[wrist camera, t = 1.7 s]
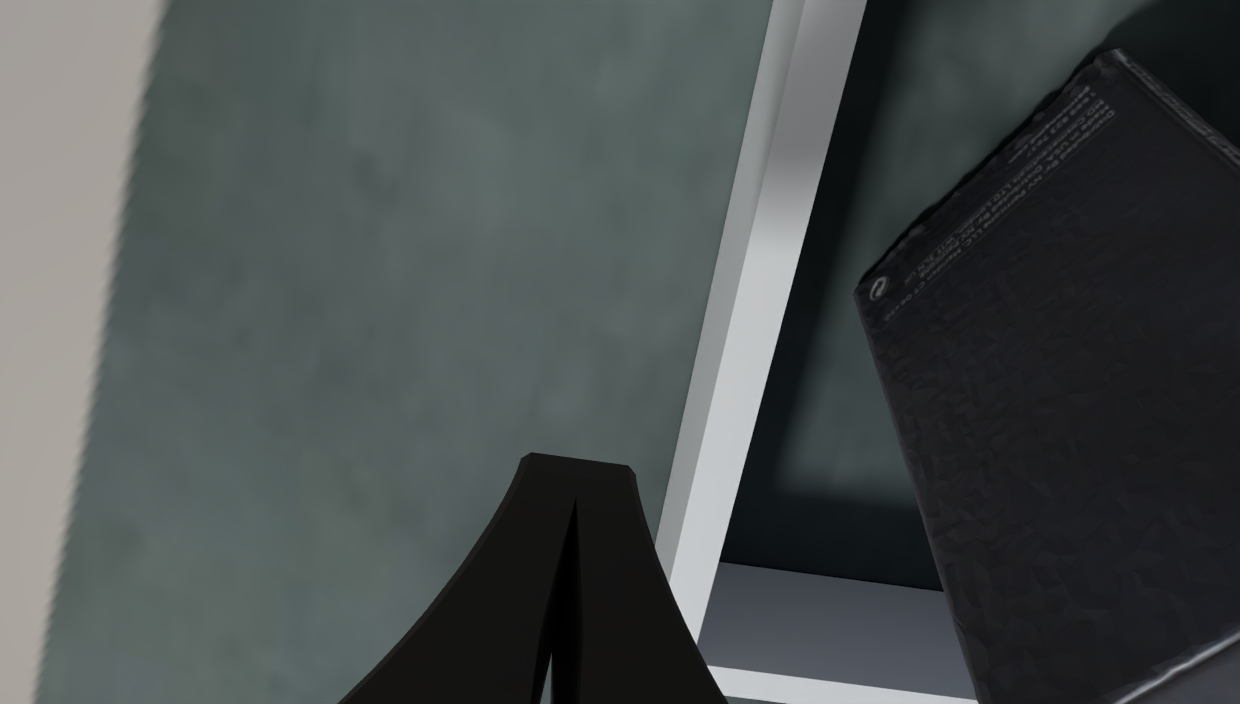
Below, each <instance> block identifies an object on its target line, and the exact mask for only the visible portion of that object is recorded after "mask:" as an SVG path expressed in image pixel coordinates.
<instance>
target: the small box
mask: <svg viewBox="0 0 1240 704" xmlns="http://www.w3.org/2000/svg"><path fill="white" fill-rule="evenodd" d="M853 297H854V300H855V303H856V305H857V308H858V312H859V315H860V318H861V321H862V324H863V327H864V330H865V334H866V337H867V340H868V343H869V346H870V350H871V352H872V355H873V359H874V362H875V365H876V369H877V372H878V375H879V379H880V382H881V385H882V388H883V391H884V394H885V397H886V401H887V404H888V407H889V410H890V414H891V417H892V421H893V424H894V427H895V430H896V434H897V437H898V440H899V443H900V446H901V450H902V453H903V457H904V461H905V464H906V467H907V470H908V473H909V476H910V479H911V482H912V486H913V489H914V493H915V496H916V500H917V503H918V506H919V510H920V513H921V517H922V520H923V523H924V527H925V530H926V534H927V537H928V540H929V544H930V547H931V550H932V554H933V557H934V560H935V564H936V567H937V570H938V574H939V577H940V580H941V584H942V587H943V590H944V593H945V597H946V600H947V603H948V606H949V610H950V613H951V617H952V620H953V624H954V628H955V632H956V635H957V638H958V640H959V644H960V647H961V650H962V653H963V657H964V660H965V663H966V666H967V669H968V672H969V675H970V678H971V681H972V684H973V686H974V690H975V697H976V699H977V701H978V704H1240V149H1238V148H1237V147H1236V146H1234V145H1233V144H1231V143H1230V142H1229V141H1228V140H1227V139H1226V138H1225V137H1224V136H1223V135H1222V134H1221V132H1219V131H1218V130H1216V129H1215V128H1213V127H1212V126H1210V125H1209V124H1208V123H1207V122H1206V121H1204V119H1203V118H1202V117H1201V116H1200V115H1199V114H1197V113H1196V112H1195V111H1193V110H1192V109H1191V108H1190V107H1189V106H1188V105H1187V104H1186V103H1184V102H1183V101H1182V100H1181V99H1180V98H1179V97H1178V96H1177V95H1176V94H1174V93H1173V92H1172V91H1171V90H1170V89H1169V88H1168V86H1167V85H1166V84H1165V83H1164V82H1162V81H1161V80H1160V79H1158V78H1157V77H1156V76H1154V75H1153V74H1151V73H1150V72H1149V71H1147V70H1146V69H1145V68H1144V67H1143V66H1142V65H1141V63H1140V62H1139V61H1138V60H1137V59H1135V58H1133V57H1132V56H1131V55H1130V54H1129V53H1128V52H1127V51H1126V50H1125V49H1122V48H1119V49H1114V50H1108V51H1106V52H1104V53H1101V54H1099V55H1097V56H1096V58H1095V61H1094V62H1093V63H1092V64H1090V65H1088V66H1086V67H1084V68H1082V69H1080V71H1079V72H1078V74H1077V75H1076V76H1075V77H1074V78H1073V79H1072V81H1071V82H1070V83H1069V84H1067V85H1066V86H1065V88H1064V90H1063V92H1062V93H1061V94H1060V95H1059V96H1058V97H1057V98H1056V99H1055V101H1054V102H1053V103H1052V104H1050V105H1049V106H1048V107H1047V108H1046V109H1045V110H1043V111H1041V112H1038V113H1037V114H1036V115H1035V116H1034V118H1033V120H1032V122H1031V123H1030V124H1029V125H1028V126H1027V127H1026V128H1025V129H1024V130H1023V131H1022V132H1021V133H1020V134H1018V135H1017V136H1016V137H1015V138H1014V139H1013V140H1012V141H1011V142H1010V143H1009V144H1008V145H1007V146H1006V147H1005V148H1004V149H1003V150H1001V151H1000V152H999V153H998V154H997V155H995V156H994V157H993V158H992V160H991V161H990V162H989V163H988V164H987V165H986V166H985V167H984V168H982V169H981V170H980V171H979V172H978V173H977V174H976V175H975V176H974V177H973V178H972V179H971V180H970V181H968V182H967V183H966V184H965V185H964V186H963V187H961V188H960V189H958V190H957V191H955V193H954V194H953V195H952V197H951V198H950V199H949V200H948V201H947V202H946V203H945V204H943V205H942V206H941V207H940V208H939V209H938V210H937V211H936V212H935V213H934V214H933V215H932V216H931V217H930V218H929V219H928V220H926V221H925V222H922V223H920V224H918V225H916V226H915V227H914V228H912V229H911V231H910V232H909V234H908V235H907V236H906V237H905V238H904V239H902V240H901V241H900V243H899V244H898V245H897V246H896V247H895V248H894V249H893V250H892V251H891V252H890V253H889V255H888V256H887V257H886V258H885V259H884V260H883V261H882V262H881V263H880V264H879V265H878V266H877V268H876V269H875V271H873V272H872V273H871V274H870V275H869V276H868V277H867V278H866V279H865V280H864V281H863V282H862V283H861V284H860V285H859V286H858V287H857V288H856V289H855V291H854V294H853Z"/></svg>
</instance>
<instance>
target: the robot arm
mask: <svg viewBox="0 0 1240 704" xmlns="http://www.w3.org/2000/svg"><path fill="white" fill-rule="evenodd" d="M551 653H552V663H551V702H550V704H728V702H727V700H726V699H725V697H724V695H723V693H722V692H721V690H720V688H719V687H718V685H717V683H716V681H715V680H714V678H713V676H712V674H711V672H710V670H709V669H708V667H707V665H706V663H705V661H704V659H703V657H702V655H701V653H700V651H699V649H698V647H697V645H696V643H695V641H694V639H693V637H692V635H691V633H690V631H689V629H688V627H687V625H686V623H685V620H684V618H683V616H682V614H681V612H680V609H679V607H678V605H677V603H676V600H675V598H674V595H673V593H672V591H671V588H670V586H669V583H668V581H667V578H666V576H665V573H664V571H663V568H662V566H661V563H660V561H659V558H658V555H657V552H656V550H655V547H654V544H653V541H652V538H651V535H650V532H649V528H648V525H647V522H646V519H645V515H644V512H643V508H642V505H641V501H640V496H639V492H638V487H637V482H636V474H635V473H634V472H633V471H632V469H631V468H630V467H629V466H628V465H620V464H613V463H606V462H598V461H591V460H584V459H577V458H569V457H562V456H555V455H547V454H540V453H533V452H531V453H529V454H528V455H526V456H524V457H523V458H521V461H520V464H519V467H518V469H517V472H516V474H515V476H514V479H513V481H512V483H511V485H510V487H509V489H508V491H507V493H506V495H505V497H504V499H503V501H502V502H501V504H500V506H499V507H498V509H497V511H496V513H495V514H494V516H493V518H492V519H491V521H490V523H489V524H488V526H487V527H486V529H485V530H484V532H483V533H482V535H481V536H480V538H479V539H478V541H477V542H476V544H475V545H474V547H473V548H472V550H471V551H470V553H469V554H468V556H467V557H466V559H465V560H464V562H463V563H462V564H461V566H460V567H459V569H458V570H457V571H456V573H455V574H454V575H453V576H452V578H451V579H450V580H449V582H448V583H447V584H446V585H445V587H444V588H443V589H442V591H441V592H440V593H439V594H438V596H437V597H436V598H435V600H434V601H433V602H432V603H431V605H430V606H429V607H428V609H427V610H426V611H425V612H424V613H423V615H422V616H421V617H420V618H419V619H418V620H417V622H416V623H415V624H414V625H413V626H412V628H411V629H410V630H409V631H408V632H407V633H406V634H405V635H404V637H403V638H402V639H401V640H400V641H399V642H398V643H397V644H396V645H395V646H394V647H393V649H392V650H391V651H390V652H389V653H388V654H387V655H386V656H385V657H384V658H383V659H382V660H381V661H380V662H379V663H378V665H377V666H376V667H375V668H374V669H373V670H372V671H371V672H370V673H368V674H367V675H366V676H365V677H364V678H363V679H362V680H361V681H360V682H359V683H358V684H357V685H356V686H355V687H354V688H353V689H352V690H351V691H350V692H349V693H348V694H347V695H346V696H345V697H344V698H343V699H342V700H341V701H340V702H339V703H338V704H540V702H541V697H542V693H543V688H544V684H545V680H546V675H547V671H548V666H549V662H550V658H551Z"/></svg>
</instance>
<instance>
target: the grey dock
mask: <svg viewBox="0 0 1240 704" xmlns="http://www.w3.org/2000/svg"><path fill="white" fill-rule="evenodd" d="M866 2H867V0H773V5H772V10H771V14H770V19H769V23H768V28H767V33H766V37H765V42H764V46H763V51H762V56H761V60H760V65H759V69H758V74H757V79H756V83H755V88H754V92H753V97H752V102H751V106H750V111H749V115H748V120H747V125H746V129H745V134H744V139H743V143H742V148H741V152H740V157H739V162H738V166H737V171H736V175H735V180H734V185H733V189H732V194H731V198H730V203H729V208H728V212H727V217H726V221H725V226H724V231H723V235H722V240H721V244H720V249H719V254H718V258H717V263H716V267H715V272H714V277H713V281H712V286H711V290H710V295H709V300H708V304H707V309H706V313H705V318H704V323H703V327H702V332H701V336H700V341H699V346H698V350H697V355H696V359H695V364H694V369H693V373H692V378H691V383H690V387H689V392H688V396H687V401H686V406H685V410H684V415H683V419H682V424H681V429H680V433H679V438H678V442H677V447H676V452H675V456H674V461H673V465H672V470H671V475H670V479H669V484H668V488H667V493H666V498H665V502H664V507H663V511H662V516H661V521H660V525H659V530H658V534H657V539H656V544H655V550H656V552H657V555H658V558H659V561H660V563H661V566H662V568H663V571H664V573H665V576H666V578H667V581H668V583H669V586H670V588H671V591H672V593H673V595H674V598H675V600H676V603H677V605H678V607H679V609H680V612H681V614H682V616H683V618H684V620H685V623H686V625H687V627H688V629H689V631H690V633H691V635H692V637H693V639H694V641H695V643H696V645H697V647H698V649H699V651H700V653H701V655H702V657H703V659H704V661H705V663H706V665H707V667H708V669H709V670H710V672H711V674H712V676H713V678H714V680H715V681H716V683H717V685H718V687H719V688H720V690H721V692H722V693H723V695H726V696H733V697H741V698H749V699H757V700H765V701H772V702H780V703H788V704H978V701H977V699H976V697H975V690H974V686H973V684H972V681H971V678H970V675H969V672H968V669H967V666H966V663H965V660H964V657H963V653H962V650H961V647H960V644H959V640H958V638H957V635H956V632H955V628H954V624H953V620H952V617H951V613H950V610H949V606H948V603H947V600H946V597H945V593H944V592H940V591H933V590H925V589H918V588H910V587H903V586H895V585H888V584H880V583H873V582H865V581H858V580H851V579H843V578H836V577H828V576H821V575H813V574H806V573H798V572H791V571H783V570H776V569H768V568H761V567H754V566H746V565H739V564H731V563H724V562H719V558H720V554H721V551H722V547H723V543H724V539H725V536H726V532H727V528H728V524H729V520H730V517H731V513H732V509H733V505H734V502H735V498H736V494H737V490H738V486H739V483H740V479H741V475H742V471H743V467H744V464H745V460H746V456H747V452H748V449H749V445H750V441H751V437H752V433H753V430H754V426H755V422H756V418H757V415H758V411H759V407H760V403H761V399H762V396H763V392H764V388H765V384H766V380H767V377H768V373H769V369H770V365H771V362H772V358H773V354H774V350H775V346H776V343H777V339H778V335H779V331H780V328H781V324H782V320H783V316H784V312H785V309H786V305H787V301H788V297H789V293H790V290H791V286H792V282H793V278H794V275H795V271H796V267H797V263H798V259H799V256H800V252H801V248H802V244H803V241H804V237H805V233H806V229H807V225H808V222H809V218H810V214H811V210H812V207H813V203H814V199H815V195H816V191H817V188H818V184H819V180H820V176H821V172H822V169H823V165H824V161H825V157H826V154H827V150H828V146H829V142H830V138H831V135H832V131H833V127H834V123H835V120H836V116H837V112H838V108H839V104H840V101H841V97H842V93H843V89H844V85H845V82H846V78H847V74H848V70H849V67H850V63H851V59H852V55H853V51H854V48H855V44H856V40H857V36H858V33H859V29H860V25H861V21H862V17H863V14H864V10H865V6H866Z"/></svg>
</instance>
